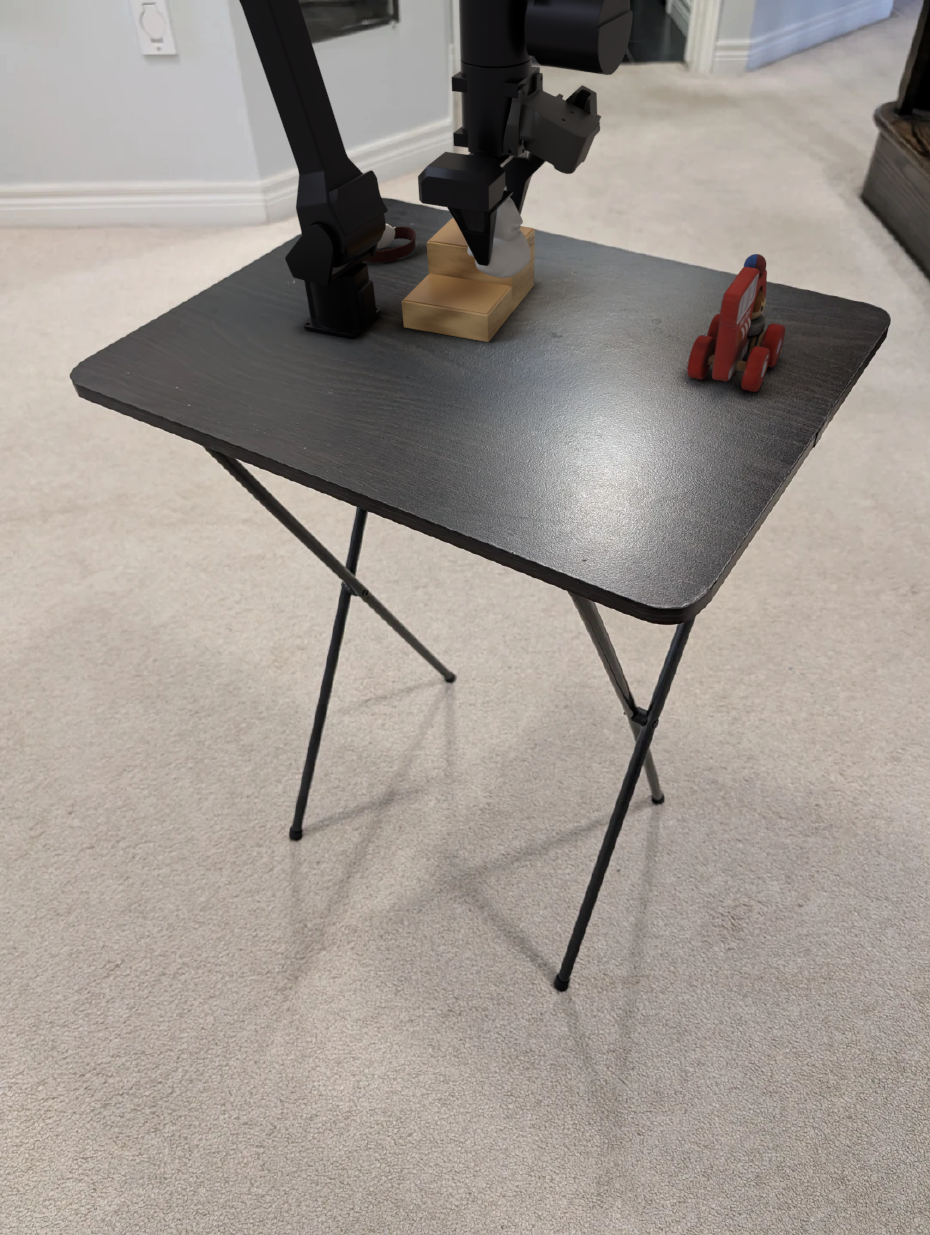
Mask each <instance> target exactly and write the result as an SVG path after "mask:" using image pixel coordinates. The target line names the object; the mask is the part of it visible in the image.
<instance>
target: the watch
mask: <svg viewBox="0 0 930 1235" xmlns="http://www.w3.org/2000/svg"><path fill="white" fill-rule="evenodd" d="M416 237H417V232H416V231H415V230H414V229H413V228H411V227H409V226H394V227H393V226H391V225H390V224H388V223H386V230H385V231H384V233H383V236H382V238H381V240H380V241H379V242H378V245H377V249H383V250H376V254H375V255H374V256H373V257H370V258H368V259H367V260H365V261H364V262H367V263H389V262H395V261H396V260H399V259H402V258H405V257H407V256H409V255H410V254H412V253H413V251H414V250H415V248H416ZM399 239H404V240H408V241H409V242H408V243H406V244H404V245H400V246H397V247H393V248H386V247H388V246H389V245H390V244H391V243H392V242H393V240H399ZM384 248H385V249H384Z"/></svg>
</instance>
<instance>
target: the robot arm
mask: <svg viewBox="0 0 930 1235" xmlns="http://www.w3.org/2000/svg"><path fill="white" fill-rule="evenodd" d="M238 1H239V3H240V5H241V8H242V11H243V15H244V18H245V20H246V24H247V26H248V28H249V32H250V35H251V38H252V39H253V43H254V47H255V49H256V51H257V56H258V58H259V61H260V63H261V66H262V69H263V72H264V75H265V78H266V81H267V84H268V86H269V89H270V92H271V95H272V98H273V102H274V104H275V108H276V110H277V112H278V115H279V116H278V117H279V118H280V121H281V124H282V127H283V130H284V133H285V136H286V138H287V142H288V145H289V147H290V150H291V154H292V156H293V159H294V161H295V164H296V168H297V172H298V183H297V192H296V202H295V204H296V205H295V211H296V215H297V219H298V224H299V228H300V233H301V236H299V238H298V240H297V241H296V242H295V244H294V245H293V246H292V248H290V250H289V251H288V252H287V254H286V255H285V257H284V259H285V262H286V264H287V267H288V269H289V272H290V273H291V276H292V277H293V279H296V280H300V281H304V288H305V293H306V299H307V300H306V301H307V304H308V305H307V306H308V310H309V311H308V312H309V316H310V317H309V318H308V319H307V320H306V321H305V322H304V323H303V324H302V325H303V329H304V330H305V331H312V332H317V333H323V334H329V335H333V336H338V337H344V338H350V339H354V338H356V337H358V336H359V335H360V334H361V333H362V332H363V331H364V330H365V329H366V328H367V327H368V326H369V325H371V323H372V322H374V321H375V319H376V318H377V317H378V316H380V314H381V308H380V307H378V306H377V305H376V304H377V302H376V296H375V295H376V294H375V287H374V281H373V279H371V278H370V275H369V267H368V266H369V265H368V263H366V261H365V260H367V259H368V258H370V257H373V256H374V255H375V254H376V251H378V250H377V249H378V248H377V245H378V242H379V241H380V240H381V238H382V236H383V233H384V231H385V230H386V224H387V221H386V216H385V214H386V213H388V211H389V209H388V208H387V206H386V204H385V202H384V200H383V198H382V196H381V191H380V187H379V182H378V177H377V175H376V173H375V172H374V171H373V170H372V169H370V170H368V171H366V172H362V171H361V169H360V168H359V167H358V166H357V165H356V163H354V162H353V161H352V160H351V159H350V157H349V156H348V153H347V152H346V148H345V145H344V141H343V138H342V136H341V132H340V128H339V126H338V122H337V119H336V115H335V114H334V109H333V107H332V103H331V100H330V97H329V94H328V91H327V90H328V89H327V87H326V84H325V81H324V79H323V75H322V71H321V68H320V65H319V62H318V57H317V55H316V52H315V49H314V45H313V43H312V39H311V36H310V33H309V30H308V26H307V24H306V21H305V17H304V13H303V11H302V8H301V4H300V1H299V0H238ZM633 15H634V13H633V10H631V0H458V20H459V22H458V23H459V53H460V54H459V57H460V59H459V62H460V71H458V72H457V73H455V74H454V75H453V76H451V92H454V93H455V92H457V93H460V96H461V97H460V98H461V100H460V102H461V126H460V127H459V128H458V129H456V130H455V131H454V132H453V133H452V138H453V147H457V148H458V147H459V148H465V149H467V152H468V154H465V153H459V152H458V153H457V152H451V151H444V152H443V153H441V154H440V155H439V156H437V157H436V158H435V159H434V160H433V161H431V162H430V163H429V164H428V165H427V166H426V167H425V168H423V170H422V171H421V172H420V173H419V174H418V175H417V186H418V201H419V202H421V204H423V205H431V206H437V207H443V208H447V210H448V211H449V213H450V215H451V217H452V218H454V220H455V221H456V223H457V225H458V227H459V229H460V230H461V232H462V234H463V236H464V238H465V240H466V242H467V244H468V246H469V248H470V250H471V252H472V254H473V256H474V258H475V260H476V262H477V264H479V265H483V266H488V265H489V264H490V260H491V254H492V248H493V240H494V232H495V224H496V217H497V210H498V208H499V207H500V206H501V205H502V204H503V203H504V202H505V201H506V200H507V199H508V198H509V197H510V198H511V199H512V201H513V202H514V204H515V206H516V208H517V210H518V212H519V214H520V216H522V211H523V208H524V204H525V200H526V197H527V193H528V190H529V188H530V187H529V186H530V183H531V180H532V177H533V175H535V173H536V172H537V171H539V169H540V168H541V167H542V166H543V165H544V164H545V163H548V164H549V165H552V166H553V168H554V170H556V171H557V172H560V173H561V174H565V175H572V174H574V173H575V171H576V170H577V169H578V167H579V166H580V165H581V164H582V163H584V162H585V161H586V159H587V157H588V154H589V152H590V149H591V147H592V144H593V142H594V140H595V137H596V136H597V135H598V134H599V133H600V131H601V119H602V115H600V114H598V96H597V95H598V94H597V92H596V91H594V90H592V89H591V88H589V87H587V86H585V85H581V86H579V87H578V88H577V89H576V90H574V92H572V93H571V94H570V96H568V97H567V98H566V99H563V97H564V94H561V93H558V94H557V95H553V94H551V93H549V92H547V91H545V90H544V75H543V72H541V66H543V67H549V68H557V69H564V70H571V71H577V72H583V73H591V74H598V75H604V76H611V75H613V74H614V73H615V72H616V71H617V70H618V69H619V67H620V66H621V63H622V62H623V59H624V57H625V54H626V52H627V49H628V45H629V43H630V42H629V41H630V37H631V33H632V32H631V31H632V26H633ZM533 57H534V59H535V61H536V62H537V63H538V64H539V65H540V66H533V63H532V62H533ZM505 187H506V189H507V191H506V190H504V188H505Z"/></svg>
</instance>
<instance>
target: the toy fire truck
mask: <svg viewBox="0 0 930 1235" xmlns="http://www.w3.org/2000/svg"><path fill="white" fill-rule="evenodd" d="M767 278H768V271H767V260H766V258H765V256H764V255H762V254H760V253H754V254H751V255H749V256H748V257H747V258H746V259H745V261H744V263H743V267H742V268H741V269H740V271H739V272H738V273H737V275H736V276H735V278H734V280H733V281H732V282H731V284H730V285H729V286H728V288H727V289H726V290H725V291H724V293H723V296H722V300H721V305H720V312H719V313H716V314H715V315H714V316H713V318H712V320H711V321H710V323H709V327H708V330H707V334H706V335H704V334H700V335H698V336H697V337H696V338H695V339H694V342H693V344H692V347H691V349H690V353H689V357H688V361H687V362H688V363H687V368H686V373H687V376H688V377H689V378H691V379H695V380H700V381H701V380H704V379H705V378H706V377H707V375H708V373H709V371H710V368H711V367H712V372H711V377H712V380H715V381H721V382H728V381H730V379H731V378H732V377H734V376H735V375H736V373H737V372H741V373H742V377H741V385H740V387H741V389H742V390H743V391H748V392H751V393H752V392H753V393H756V392H758V391H759V390H760V388H761V387H762V384H763V381H764V379H765V375H766V373H767V370H768V368H773V367H774V366H775V365H776V364H777V361H778V359H779V357H780V354H781V352H782V348H783V345H784V341H785V335H786V326H785V325H783V324H779V323H773V322H771V323H769V324H768V325H767V327H766V322H767V320H766V319H767V318H766V316H765V315H764V311H765V309H766V304H767V300H766V298H767V297H766V296H767ZM765 327H766V329H765ZM747 353H749V354H748V356H747V360H746V361H745V360H743V358H744V357H745V355H746V354H747Z"/></svg>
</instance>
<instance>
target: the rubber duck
mask: <svg viewBox="0 0 930 1235" xmlns="http://www.w3.org/2000/svg"><path fill="white" fill-rule="evenodd" d="M504 190H506V191H507V189H506V187H505V188H504ZM523 223H524V220H523V218H522V215H520V214H519V212H518V210H517V208H516V206H515V204H514V202H513V201H512V199H511V198H510V197H509V198H508V199H507V200H506V201H505V202H504V203H503V204H502V205H501V206H500V207H499V208H498V210H497V217H496V224H495V232H494V240H493V248H492V254H491V260H490V264H489V265H488V266H483V265H479V264H477V262H476V260H475V263H476V267H477V269H478V270H479V271H481V272H484V273H485V274H487V275H489V276H493V277H497V278H509V277H512V276H514V275H515V274H517V273H518V272H520V271H521V270H522V269H523V268H524V267H525V266H526V265H527V264H528V263H529V261H530V247H529V245H528V242H527V240H526V238H525V236H524V234H523V233H522V232H521V231H519V230H520V228H521V225H523ZM468 254H469V255H470V256H473V254H472V252H471V250H470V248H469V246H468ZM473 257H474V256H473Z"/></svg>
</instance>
